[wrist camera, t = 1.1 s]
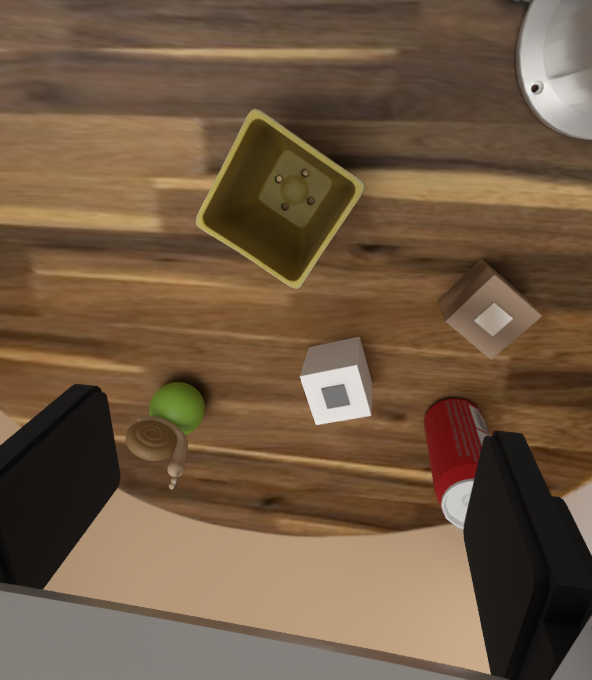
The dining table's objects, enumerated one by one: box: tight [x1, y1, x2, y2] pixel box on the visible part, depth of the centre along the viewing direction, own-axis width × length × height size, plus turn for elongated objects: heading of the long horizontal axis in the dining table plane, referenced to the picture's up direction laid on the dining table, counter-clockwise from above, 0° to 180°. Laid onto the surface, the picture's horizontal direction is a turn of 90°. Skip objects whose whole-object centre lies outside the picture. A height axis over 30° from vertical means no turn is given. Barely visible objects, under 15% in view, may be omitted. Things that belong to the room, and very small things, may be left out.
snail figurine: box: [126, 382, 205, 489], centre depth 44 cm, size 5×6×12 cm
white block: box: [300, 336, 372, 425], centre depth 43 cm, size 5×5×6 cm
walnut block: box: [438, 258, 542, 359], centre depth 38 cm, size 5×5×5 cm
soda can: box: [424, 398, 490, 529], centre depth 40 cm, size 6×6×12 cm
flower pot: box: [196, 109, 365, 289], centre depth 35 cm, size 9×9×9 cm
